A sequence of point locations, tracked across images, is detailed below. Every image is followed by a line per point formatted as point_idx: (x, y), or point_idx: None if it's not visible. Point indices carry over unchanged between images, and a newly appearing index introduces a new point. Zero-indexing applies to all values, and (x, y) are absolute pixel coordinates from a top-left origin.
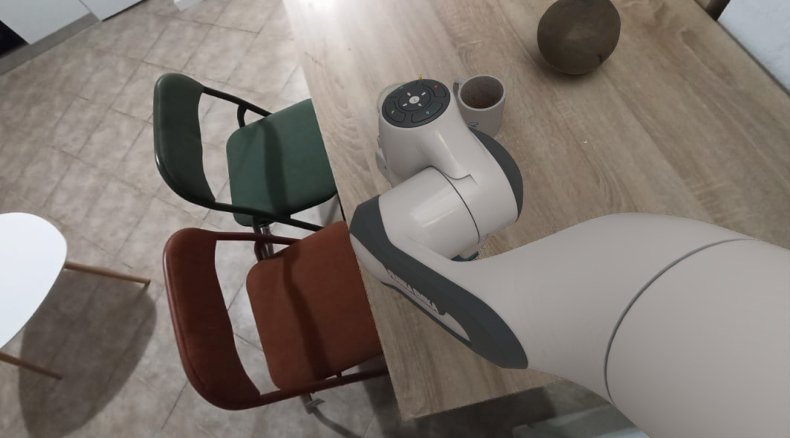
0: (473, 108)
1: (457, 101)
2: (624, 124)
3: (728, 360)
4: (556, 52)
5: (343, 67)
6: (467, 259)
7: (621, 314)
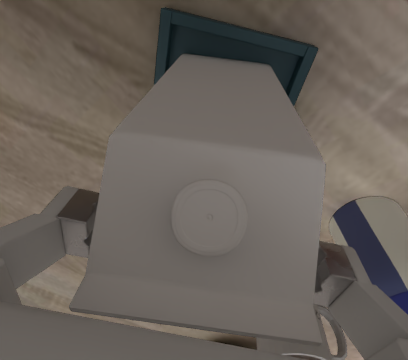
0: (293, 354)
1: (326, 310)
2: (148, 322)
3: None
4: None
5: None
6: None
7: None
